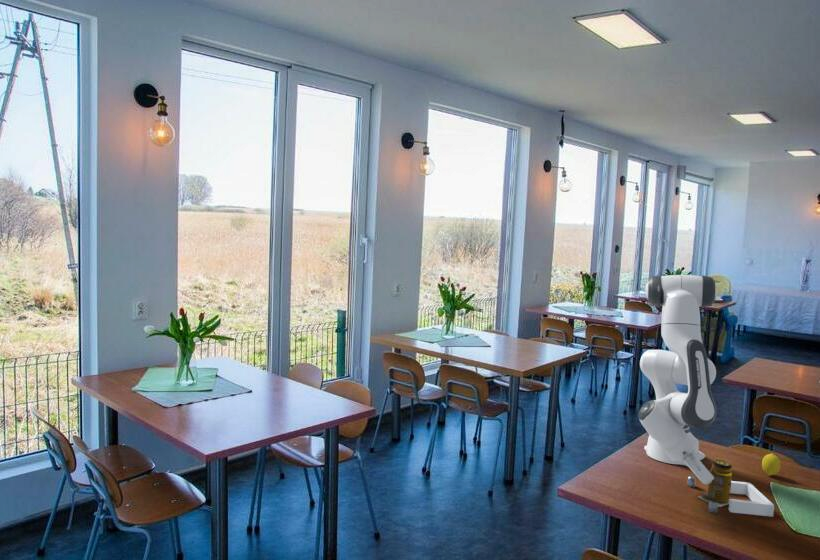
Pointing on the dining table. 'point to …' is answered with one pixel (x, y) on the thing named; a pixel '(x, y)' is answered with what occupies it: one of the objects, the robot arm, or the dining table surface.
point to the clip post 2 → (713, 507)
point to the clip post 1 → (691, 481)
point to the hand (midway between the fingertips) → (708, 480)
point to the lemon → (771, 464)
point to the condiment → (719, 483)
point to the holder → (754, 507)
